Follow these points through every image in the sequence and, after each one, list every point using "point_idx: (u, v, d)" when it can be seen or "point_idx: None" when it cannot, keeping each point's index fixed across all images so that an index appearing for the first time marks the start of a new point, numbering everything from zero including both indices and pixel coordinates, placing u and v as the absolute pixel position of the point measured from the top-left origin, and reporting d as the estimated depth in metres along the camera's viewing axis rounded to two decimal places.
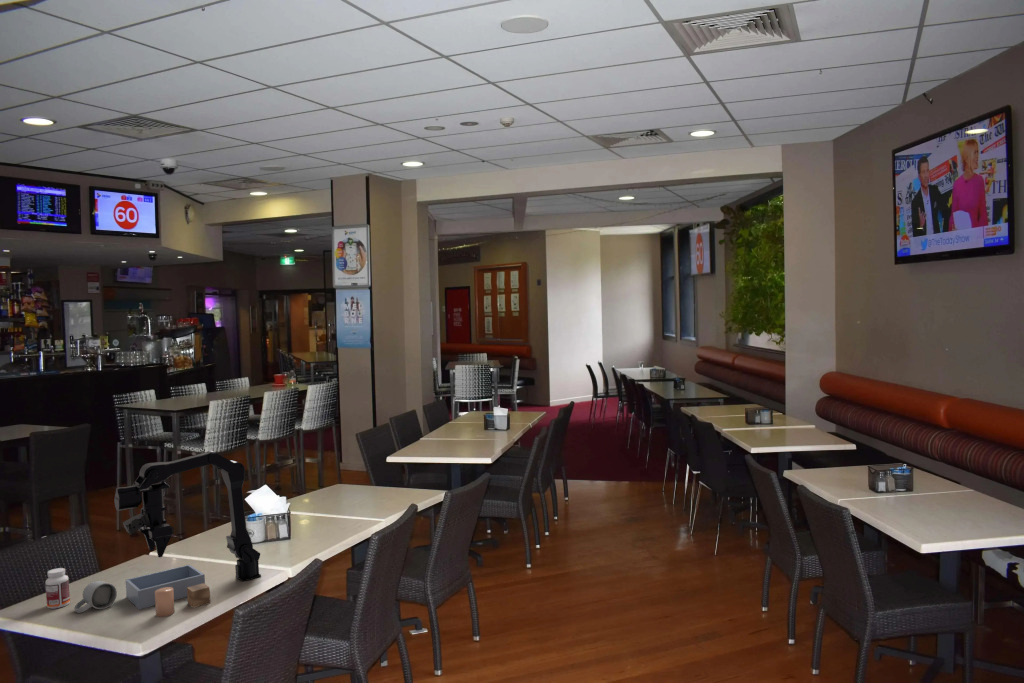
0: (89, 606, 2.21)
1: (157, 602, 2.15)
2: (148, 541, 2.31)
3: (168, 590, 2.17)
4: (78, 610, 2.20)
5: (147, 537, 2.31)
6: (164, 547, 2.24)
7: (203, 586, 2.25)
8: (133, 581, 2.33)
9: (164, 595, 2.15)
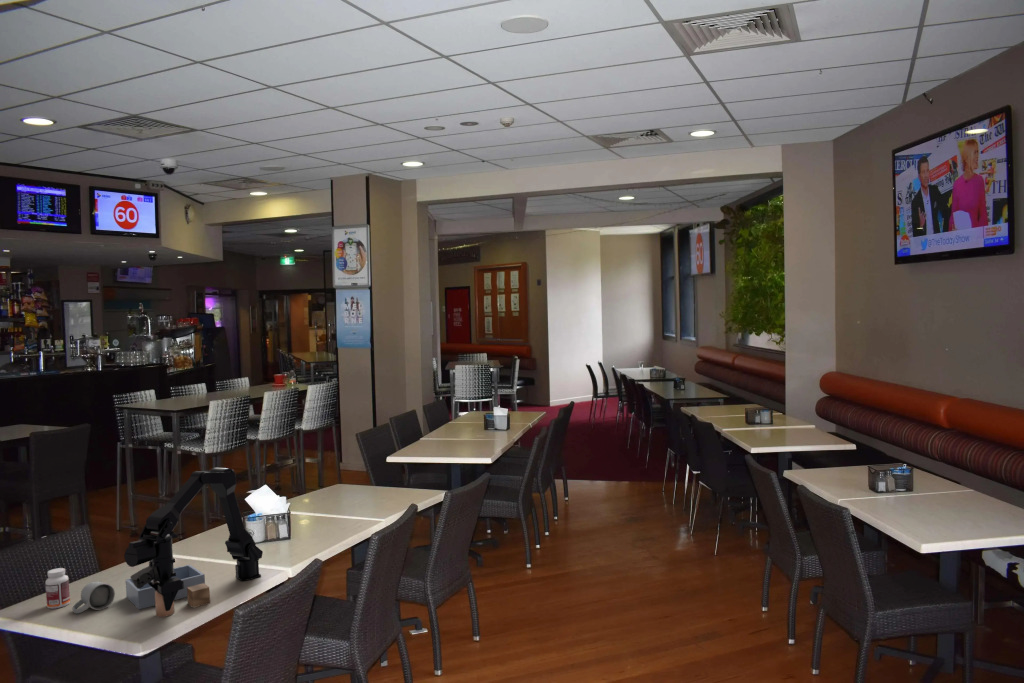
0: (87, 606, 2.21)
1: (157, 602, 2.15)
2: None
3: None
4: (76, 611, 2.20)
5: None
6: (172, 600, 2.15)
7: (203, 586, 2.25)
8: None
9: None
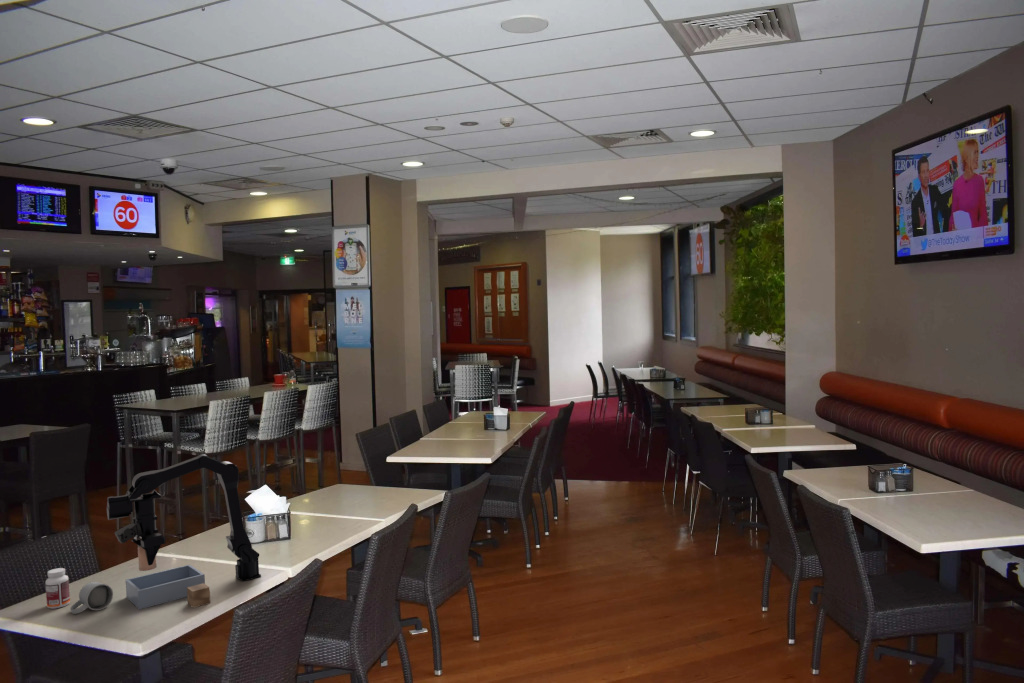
0: (85, 607, 2.20)
1: (140, 557, 2.27)
2: None
3: None
4: (74, 611, 2.20)
5: None
6: (154, 555, 2.27)
7: (203, 586, 2.25)
8: (133, 581, 2.33)
9: None
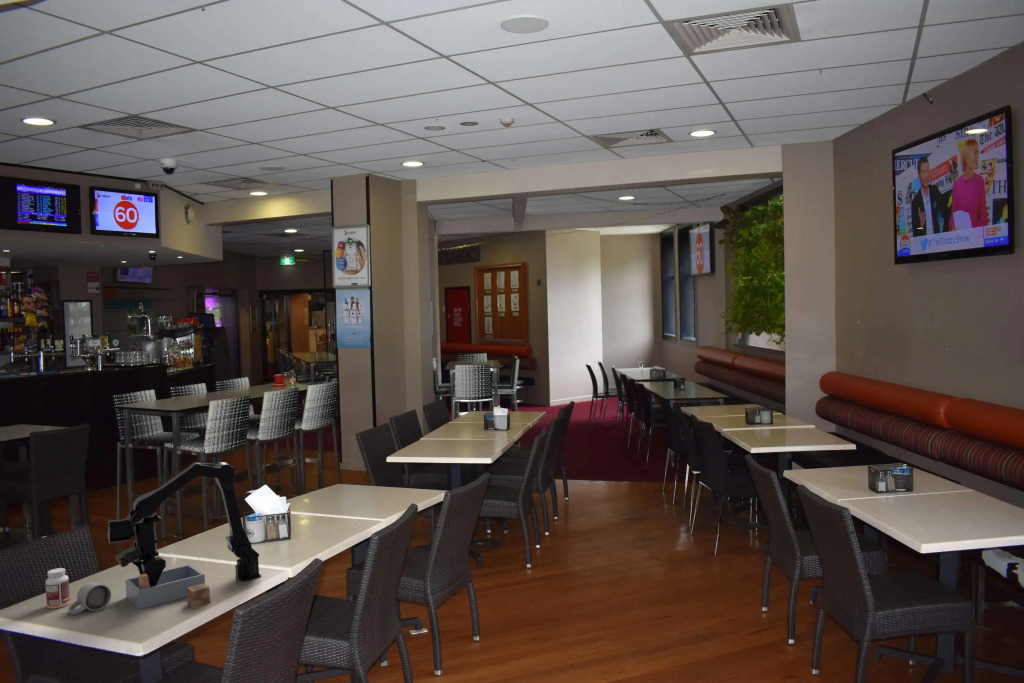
0: (83, 607, 2.20)
1: (141, 586, 2.28)
2: (141, 573, 2.33)
3: None
4: (72, 612, 2.19)
5: (140, 569, 2.33)
6: (156, 580, 2.27)
7: (203, 586, 2.25)
8: (133, 581, 2.33)
9: (147, 579, 2.28)
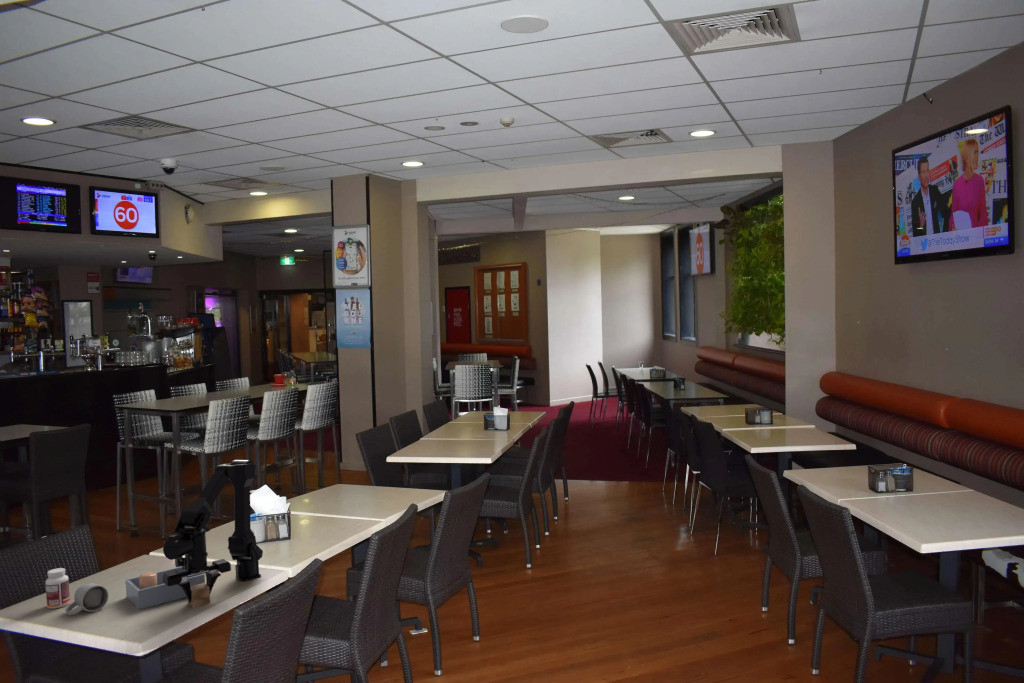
0: (80, 608, 2.19)
1: (141, 586, 2.28)
2: None
3: (152, 575, 2.30)
4: (69, 613, 2.19)
5: (206, 582, 2.27)
6: (186, 594, 2.22)
7: (203, 586, 2.25)
8: (133, 581, 2.33)
9: (147, 579, 2.28)
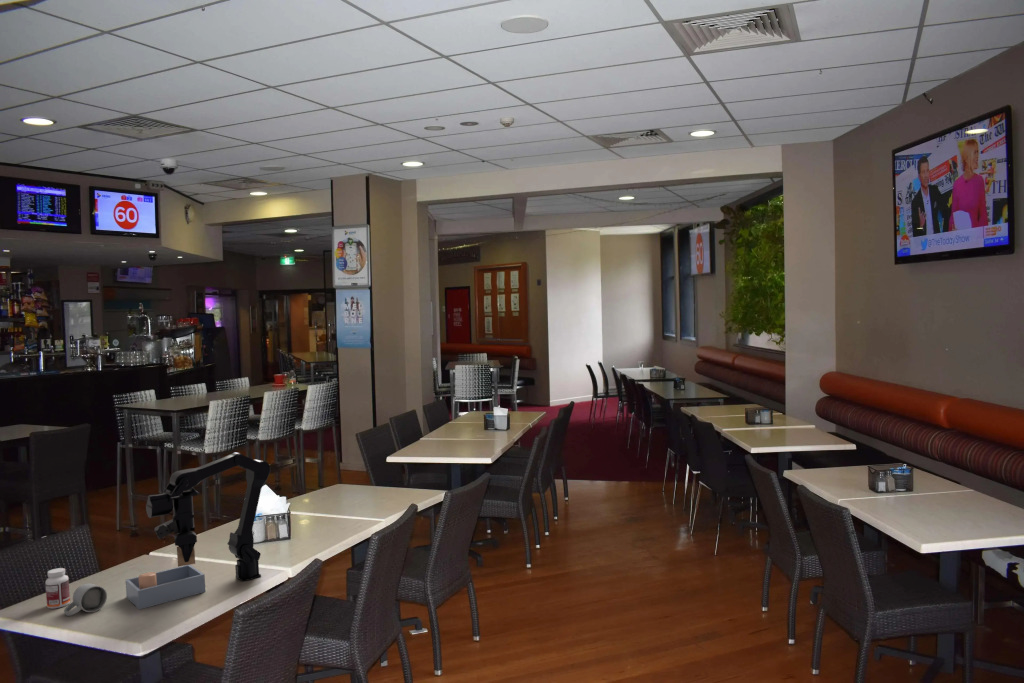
0: (79, 609, 2.19)
1: (140, 586, 2.28)
2: None
3: (151, 575, 2.30)
4: (68, 613, 2.18)
5: None
6: (189, 552, 2.30)
7: None
8: (133, 581, 2.33)
9: (147, 579, 2.28)
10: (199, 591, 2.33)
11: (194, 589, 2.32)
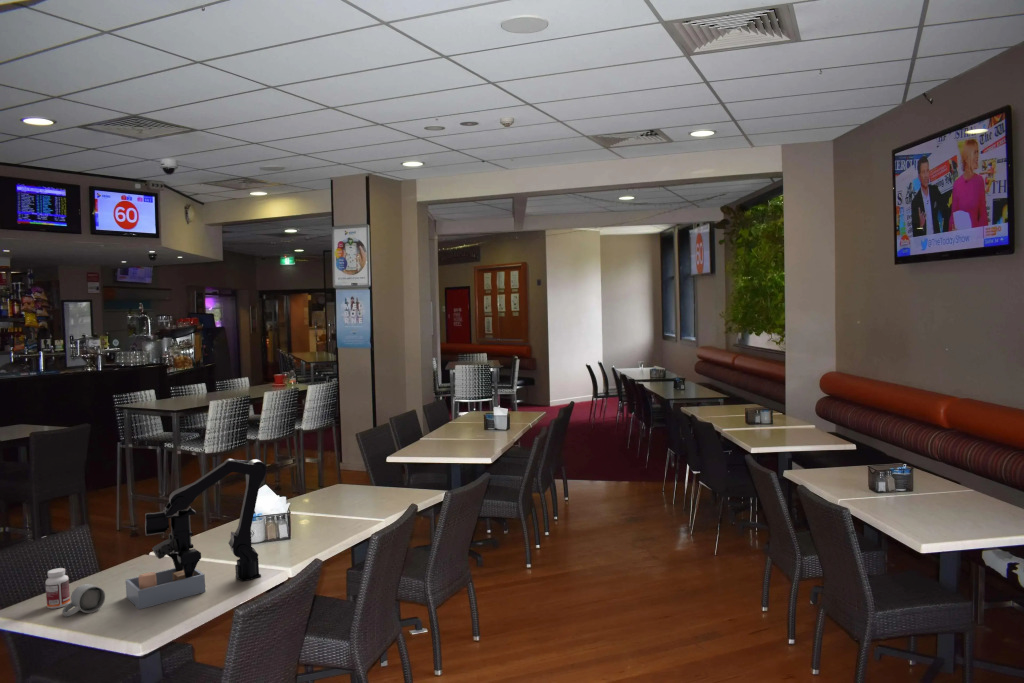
0: (77, 609, 2.19)
1: (140, 586, 2.28)
2: (176, 565, 2.40)
3: (151, 575, 2.30)
4: (66, 614, 2.18)
5: (175, 561, 2.40)
6: (192, 571, 2.34)
7: (183, 571, 2.39)
8: (133, 581, 2.33)
9: (146, 580, 2.28)
10: (199, 591, 2.33)
11: (194, 589, 2.32)
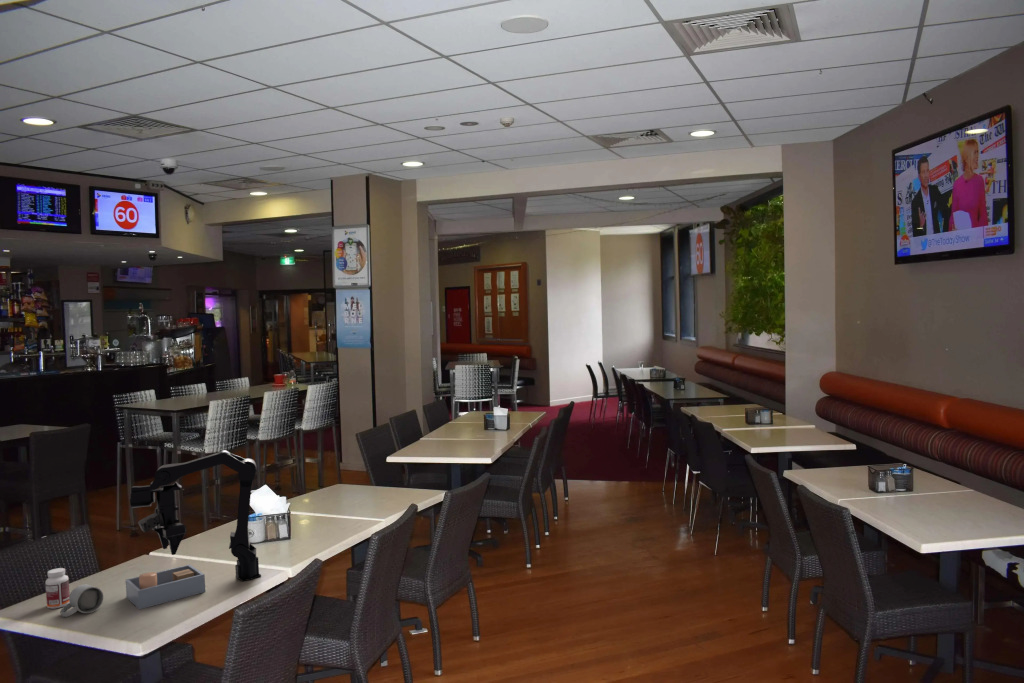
0: (75, 610, 2.18)
1: (140, 586, 2.28)
2: (161, 539, 2.42)
3: (151, 575, 2.30)
4: (64, 614, 2.17)
5: (161, 535, 2.42)
6: (177, 545, 2.35)
7: (183, 571, 2.39)
8: (133, 581, 2.33)
9: (147, 580, 2.28)
10: (199, 591, 2.33)
11: (194, 589, 2.32)
